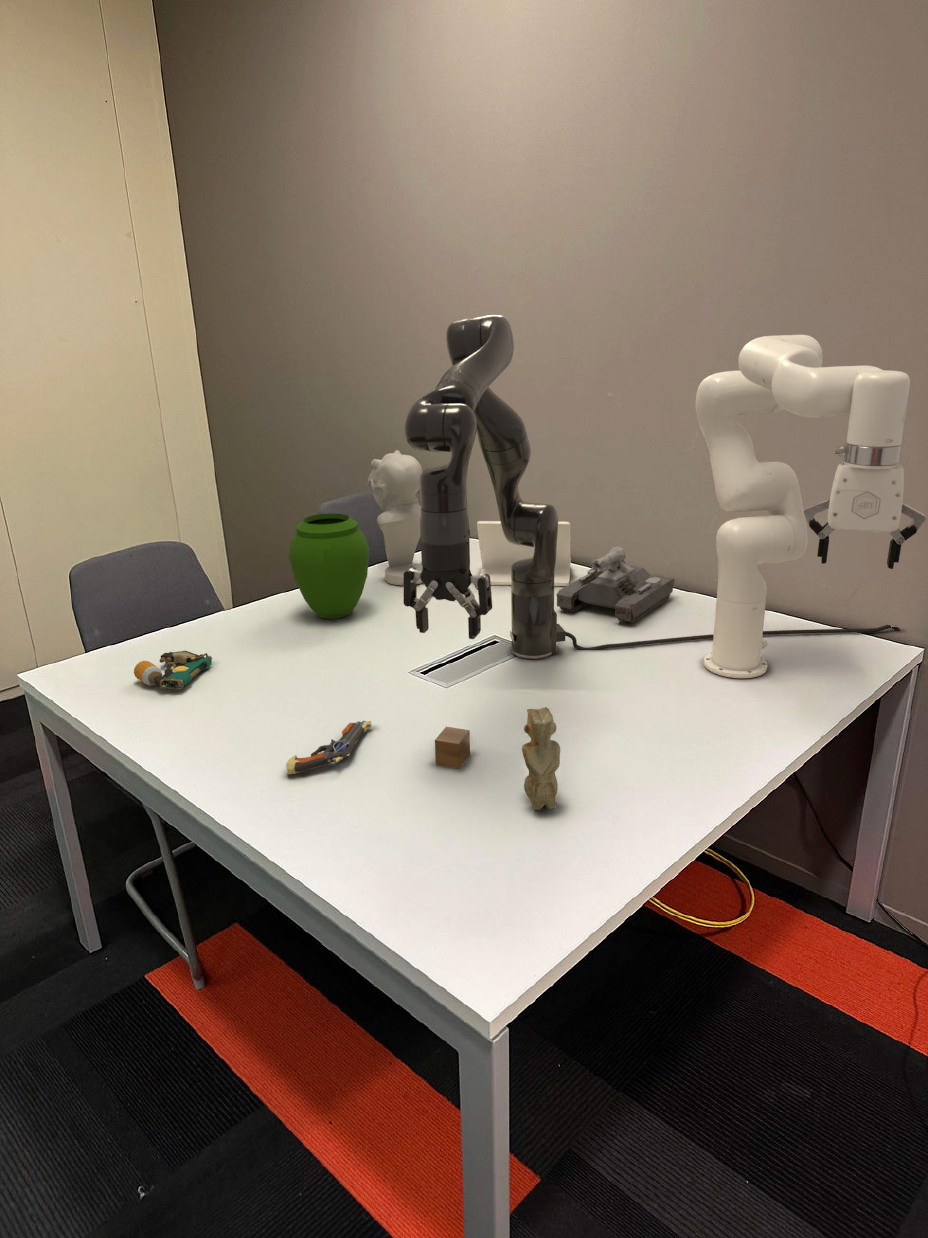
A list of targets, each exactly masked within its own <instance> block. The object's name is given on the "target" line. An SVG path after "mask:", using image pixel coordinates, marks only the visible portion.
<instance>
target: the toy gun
mask: <svg viewBox="0 0 928 1238" xmlns="http://www.w3.org/2000/svg"><path fill="white" fill-rule="evenodd" d="M372 726H373V723H372V721H371V720H362V721H359V720H357V722H349V723H348V724H347V725H346V726H345V728H344V729H343V730H342V731H341V734H342V736H341V737H340V738H339V739H338V740H335V739H331V740H330V743H329V744H323V745H320V746H319V747H317V749H316V750H314V751H313V752H312V753H311V754H310V756H307V757H298V756H297V754H295V755H293V756H292V757H290V758H289V759H288V760H287V762H286V766H285V767H286V771H287V774H288V775H295V774H299V773H303V772H307V771H309V770H313V769H317V768H320V767H324V766H326V765H330V764H331V763H336V764H337V763H339V762H340V761H342V760H344V758H346V757H349V756H350V755H351V753H352V752H353V751H354V749H355V748H356V747H357V746H356V745H357V742H358V741H359V740H360V738H361V737H362V736H363V734H364V733H366V732H367V730H369V729H370V728H372Z"/></svg>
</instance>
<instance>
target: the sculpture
mask: <svg viewBox="0 0 928 1238" xmlns="http://www.w3.org/2000/svg"><path fill="white" fill-rule="evenodd" d="M526 713H527V718H526V723H525V725H524V727H523V732H524V733H525V734H527V736H528V737H529V738H530V741H529V742H526V743H524V744H522V746H521V753H522V757H523V760H524V764H525V766H526V769H527V770H528V775H527V776H526V777H525V778H524V780H523V789H524V793H525V795H526V796H527V799H529V801H530V804H531V808H532V809H533V810H534V811H535V810H541V809H542V808H543V806H545V807H546V809H554V808H556V807H557V805H556V804H557V803H556V802H557V799H556V798H557V794H558V790H559V789H558V788H559V786H558V785H559V784H558V779H557V776H556V771H557V770H558V769H559V767H560V764H561V763H560V762H561V745H560V744H559V742H558V741H556V740H553V739H552V737H553V735H554V734H555V733H556V731H557V728H558V727H557V723H556V722H555V721H554V716H553V714H552V712H551V711H550V708H548V707H547V706H545V707H541V708H527V709H526Z"/></svg>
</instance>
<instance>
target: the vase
mask: <svg viewBox="0 0 928 1238" xmlns="http://www.w3.org/2000/svg"><path fill="white" fill-rule="evenodd" d="M358 524H359V523H358V521H356V520H355V519H353V518H352V517H350V516H349V515H347V514H344V513H335V512H334V513H333V512H331V513H320V514H313V515H310V516H307V517H305V518H303V519H302V520H301V521H300V522H299V523H298V524H297V525H296V526H295V532H296V533H295V534H294V536H293V537H292V538H291V540H290V542H289V551H288V559H289V564H290V566H291V567H290V568H291V570H292V575H293V578H294V581H295V584H296V586H297V587H298V589H299V591H300V593H301V596H302V597H303V600H304V601H305V603H306V604H307V605H308V607H309V608H310V609H311V611H312V612H314V613H315V614H316V615H317V616H318V617H320V618H324V619H326V620H327V619H329V620H336V619H341V618H345V617H347V616H349V615H350V614H351V613H352V612H353V611H354V610H355V608H356V607H357V605H358V604H359V601H360V599H361V597H362V595H363V592H364V588H365V586H366V581H367V578H368V570H369V561H370V560H369V559H370V548H369V545H368V541H367V537H366V535H365V534H364V533H363V532H362V531H361V530H360V529H359V527H358Z"/></svg>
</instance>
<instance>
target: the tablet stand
mask: <svg viewBox="0 0 928 1238" xmlns="http://www.w3.org/2000/svg"><path fill="white" fill-rule="evenodd" d="M476 531H477V537H478V544H479V551H480V557H481V558H480V559H481V570H480V573H479V575H478V576H483V575H484V574H488V575H489V576H490V582H491V586H511V567H512V565H513V563H515V562H516V561H519V560H522V559H525V558H530V557H533V556H534V547H527V546H519V545H514V544H511V543H510V542H508V541H507V539H506V538H505V536H504V533H503V530H502V526H501V521H500V520H477V522H476ZM571 560H572V558H571V522H569V521H558V535H557V551H556V564H555V571H554V587H556V586H557V587H566V586H567V585H569V584H570V580H571V579H570V578H571V565H572V564H571Z"/></svg>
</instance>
